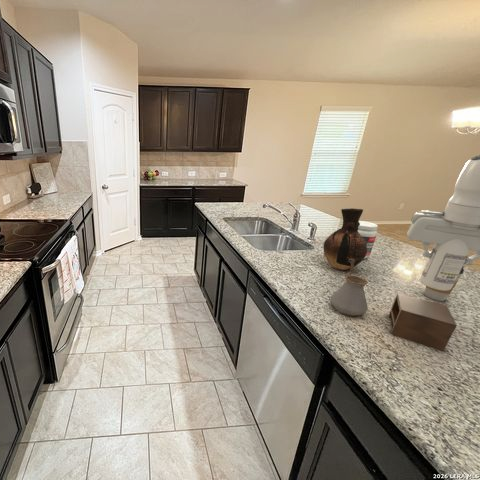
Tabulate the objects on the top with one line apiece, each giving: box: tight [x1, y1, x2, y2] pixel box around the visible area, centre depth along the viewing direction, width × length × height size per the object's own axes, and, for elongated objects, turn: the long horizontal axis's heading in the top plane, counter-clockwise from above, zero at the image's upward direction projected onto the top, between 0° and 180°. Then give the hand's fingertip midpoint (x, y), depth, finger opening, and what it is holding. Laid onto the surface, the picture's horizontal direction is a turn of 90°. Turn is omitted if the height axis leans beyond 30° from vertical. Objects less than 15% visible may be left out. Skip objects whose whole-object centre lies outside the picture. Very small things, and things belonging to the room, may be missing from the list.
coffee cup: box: [423, 265, 465, 302], centre depth 100 cm, size 8×8×15 cm
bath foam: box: [419, 239, 471, 291], centre depth 74 cm, size 7×7×20 cm
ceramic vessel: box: [323, 207, 367, 271], centre depth 122 cm, size 21×18×30 cm
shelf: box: [387, 292, 458, 352], centre depth 82 cm, size 12×12×10 cm
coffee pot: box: [329, 259, 369, 317], centre depth 96 cm, size 21×12×15 cm, turn 150°
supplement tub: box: [358, 220, 379, 260], centre depth 138 cm, size 13×13×18 cm
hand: (446, 260), depth 74 cm, fingers closed on bath foam, 7 cm apart
